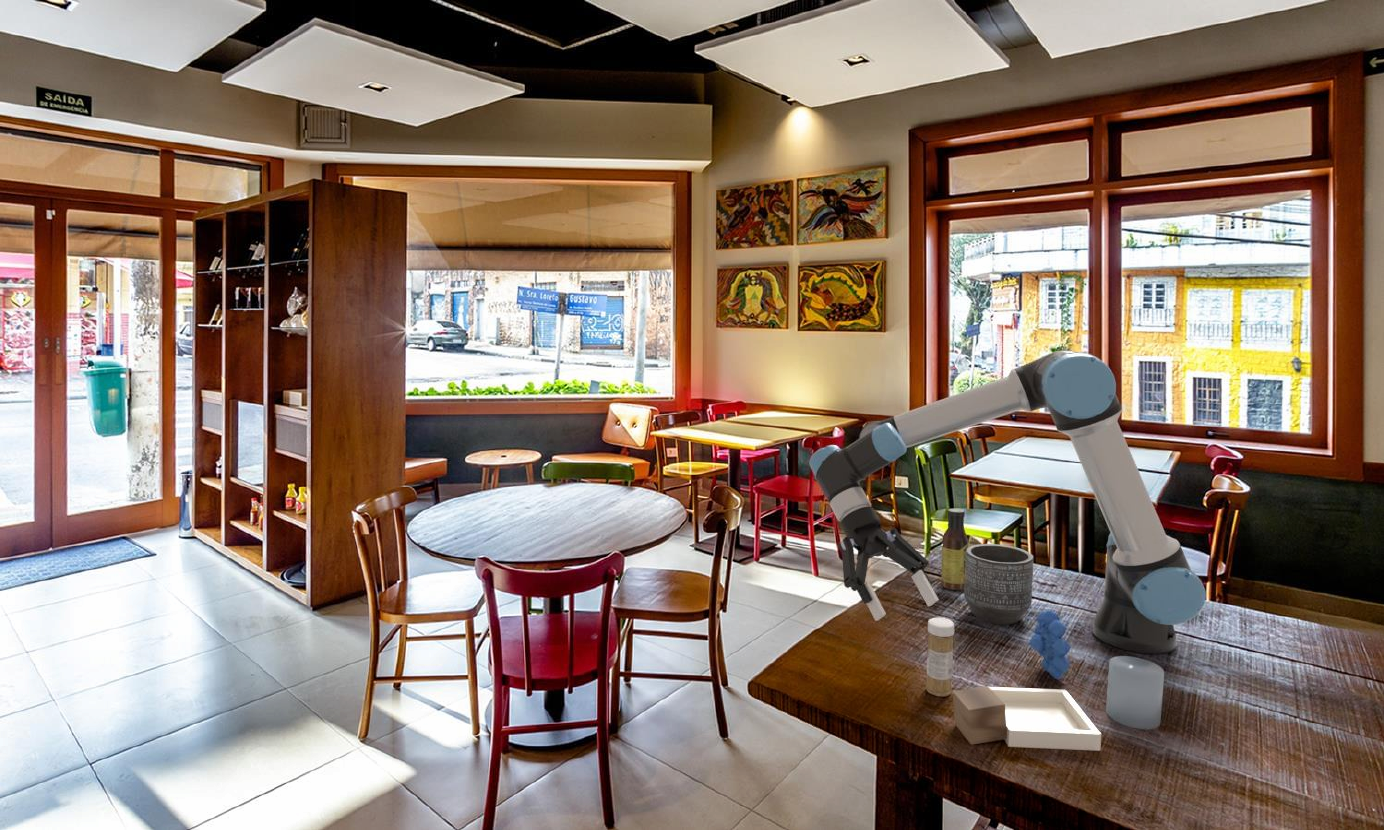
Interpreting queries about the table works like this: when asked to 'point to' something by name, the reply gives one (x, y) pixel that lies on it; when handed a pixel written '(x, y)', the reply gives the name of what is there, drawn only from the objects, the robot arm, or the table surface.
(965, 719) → the walnut block
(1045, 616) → the grapes
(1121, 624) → the robot arm
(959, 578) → the sauce bottle
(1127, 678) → the pale grey rounded cylinder
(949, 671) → the sprinkles bottle
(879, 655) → the table surface
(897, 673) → the table surface
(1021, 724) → the tray
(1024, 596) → the planter
